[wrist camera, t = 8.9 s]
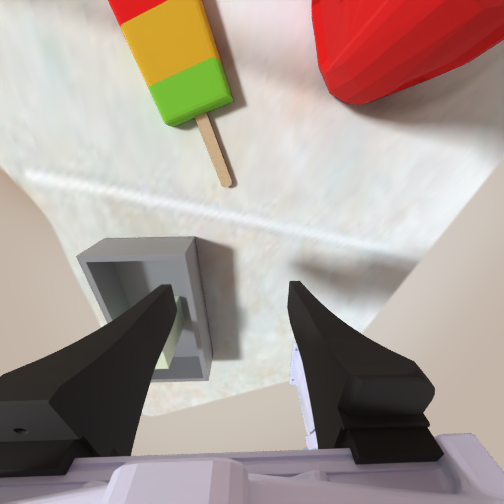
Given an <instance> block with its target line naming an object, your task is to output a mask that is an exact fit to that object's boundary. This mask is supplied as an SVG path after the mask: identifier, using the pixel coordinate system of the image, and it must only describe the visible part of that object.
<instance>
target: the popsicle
mask: <svg viewBox="0 0 504 504" xmlns="http://www.w3.org/2000/svg"><path fill="white" fill-rule="evenodd" d="M108 1H109V3H110V6H111V8H112V10H113V12H114V14H115V16H116V19H117V21H118V23H119V25H120V27H121V30H122V32H123V34H124V36H125V38H126V40H127V43H128V45H129V47H130V49H131V51H132V53H133V56H134V58H135V60H136V62H137V64H138V66H139V69H140V71H141V73H142V75H143V77H144V79H145V82H146V84H147V86H148V88H149V90H150V93H151V95H152V97H153V99H154V101H155V103H156V106H157V108H158V110H159V112H160V114H161V116H162V119H163V121H164V122H165V124H167V125H168V126H172V127H174V126H177V125H179V124H181V123H184V122H186V121H188V120H191V119H193V118H195V120H196V122H197V125H198V127H199V130H200V132H201V135H202V137H203V140H204V142H205V145H206V147H207V150H208V152H209V155H210V157H211V160H212V162H213V165H214V167H215V170H216V172H217V175H218V177H219V180H220V182H221V185H222V186H223V187H229V186H230V185H231V184H232V180H231V177H230V174H229V172H228V169H227V166H226V164H225V161H224V158H223V156H222V153H221V150H220V148H219V145H218V142H217V139H216V137H215V134H214V131H213V129H212V126H211V123H210V121H209V118H208V115H207V112H210V111H212V110H214V109H217V108H219V107H221V106H224V105H226V104H228V103H231V102H233V98H232V95H231V92H230V88H229V85H228V82H227V79H226V76H225V72H224V69H223V66H222V63H221V60H220V57H219V53H218V50H217V47H216V44H215V41H214V37H213V34H212V31H211V28H210V25H209V21H208V18H207V15H206V12H205V9H204V5H203V2H202V0H108ZM174 74H175V75H174ZM161 80H162V81H161Z"/></svg>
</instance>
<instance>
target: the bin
mask: <svg viewBox="0 0 504 504" xmlns="http://www.w3.org/2000/svg"><path fill="white" fill-rule="evenodd" d="M76 257H77V259H78V261H79V264H80V266H81V268H82V270H83V272H84V274H85V276H86V278H87V281H88V283H89V285H90V287H91V289H92V291H93V293H94V295H95V298H96V300H97V302H98V304H99V306H100V308H101V310H102V312H103V315H104V317H105V319H106V321H107V323H110V322H111V321H113V320H114V319H116V318H117V317H118V316H120V315H121V314H123V313H124V312H125V311H127V310H128V309H130V308H131V307H132V306H134V305H135V304H136V303H138V302H139V301H140V300H142V299H143V298H144V297H145V296H147V295H148V294H149V293H150V292H152V291H153V290H154V289H156V288H157V287H158V286H160V285H161V284H171V285H172V289H173V294H174V296H179V297H180V301H181V305H182V310H183V314H184V318H185V324H184V327H183V330H182V332H181V335H180V338H179V341H178V344H177V347H176V349H175V352H174V355H173V358H172V361H171V363H170V366H169V369H155V370H154V373H153V376H152V379H151V382H182V381H209V375H210V369H211V363H212V357H213V350H212V343H211V337H210V331H209V324H208V318H207V311H206V305H205V299H204V292H203V286H202V279H201V273H200V266H199V260H198V254H197V247H196V241H195V236H194V237H150V238H105V239H103V240H101V241H99V242H98V243H96V244H95V245H93V246H92V247H90V248H88V249H87V250H85V251H84V252H82V253H80V254H79V255H77V256H76Z"/></svg>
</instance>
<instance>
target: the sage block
mask: <svg viewBox="0 0 504 504" xmlns="http://www.w3.org/2000/svg"><path fill="white" fill-rule="evenodd" d="M174 298H175V302H176V306H177V314H176V317H175V321H174V324H173V327H172V329H171V332H170V334H169V336H168V339H167V341H166V343H165V346H164V348H163V350H162V353H161V355H160V357H159V359H158V362H157V364H156V367H155V369H169V366H170V363H171V361H172V358H173V355H174V352H175V349H176V347H177V344H178V341H179V338H180V335H181V332H182V330H183V327H184V324H185V318H184V314H183V310H182V305H181V301H180V297H179V296H174Z"/></svg>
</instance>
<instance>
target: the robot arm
mask: <svg viewBox="0 0 504 504" xmlns="http://www.w3.org/2000/svg"><path fill="white" fill-rule="evenodd" d="M287 308H288V313H289V319H290V324H291V327H292V330H293V333H294V337H295V340H296V343H295V344H294V345H293V353H292V362H291V371H290V379H289V383H290V385H296V386H297V392H298V396H299V401H300V406H301V411H302V415H303V420H304V425H305V429H306V432H307V434H308V435H307V436H306V442H307V447H306V448H304V449H303V450H288V451H262V452H261V451H259V452H235V453H234V452H233V453H205V454H177V455H150V456H149V455H148V456H131V452H132V448H133V443H134V439H135V435H136V431H137V427H138V424H139V420H140V416H141V413H142V409H143V405H144V402H145V399H146V395H147V392H148V388H149V385H150V382H151V379H152V376H153V373H154V370H155V367H156V364H157V362H158V359H159V357H160V355H161V353H162V350H163V348H164V346H165V343H166V341H167V339H168V336H169V334H170V332H171V329H172V327H173V324H174V321H175V317H176V314H177V306H176V302H175V298H174V294H173V289H172V285H171V284H161V285H160V286H158V287H157V288H156V289H154V290H153V291H152V292H150V293H149V294H148V295H147V296H145V297H144V298H143V299H142V300H140V301H139V302H138V303H136V304H135V305H134V306H132V307H131V308H130V309H128V310H127V311H125V312H124V313H123V314H121V315H120V316H118V317H117V318H116V319H114V320H113V321H111V322H110V323H108V324H106V325H105V326H103V327H102V328H100V329H98V330H97V331H95V332H93V333H91V334H90V335H88V336H86V337H84V338H82V339H81V340H79V341H77V342H75V343H73V344H71V345H69V346H67V347H65V348H63V349H61V350H59V351H57V352H55V353H53V354H50V355H48V356H46V357H44V358H42V359H39V360H37V361H35V362H32V363H30V364H27V365H25V366H23V367H20V368H18V369H15V370H13V371H11V372H8V373H6V374H3V375H2V376H1V377H0V504H504V471H503V470H502V469H501V468H500V466H499V465H498V464H497V463H496V461H495V460H494V459H493V458H492V456H491V455H490V454H489V453H488V451H487V450H486V449H485V448H484V446H483V445H482V444H481V442H480V441H479V440H478V439H477V437H476V436H475V435H473V434H471V433H462V434H442V435H438V436H436V437H433V435H432V434H431V433H430V431H429V429H428V428H427V427H429V426H430V424H429V421H428V420H427V418H426V417H425V415H424V414H423V412H424V411H425V409H426V408H427V406H428V405H429V404H430V402H431V401H432V399H433V397H434V394H435V388H434V386H433V385H432V383H431V382H430V380H429V379H428V378H427V377H426V375H425V374H424V373H423V371H422V370H421V369H420V368H419V367H418V365H417V364H416V363H415V362H414V361H412V360H410V359H408V358H406V357H404V356H401V355H399V354H397V353H395V352H393V351H391V350H389V349H387V348H385V347H383V346H381V345H380V344H378V343H376V342H374V341H372V340H371V339H369V338H367V337H365V336H364V335H362V334H361V333H359V332H358V331H356V330H355V329H353V328H352V327H350V326H349V325H347V324H346V323H345V322H343V321H342V320H340V319H339V318H338V317H337V316H335V315H334V314H333V313H332V312H330V311H329V310H328V309H327V308H326V307H325V306H324V305H323V304H322V303H320V302H319V301H318V300H317V299H316V298H315V297H314V296H313V295H312V294H311V293H310V291H309V290H308V289H307V288H306V287H305V286H304V285H303V284H302V283H301V282H300V281H290V282H289V294H288V306H287Z"/></svg>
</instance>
